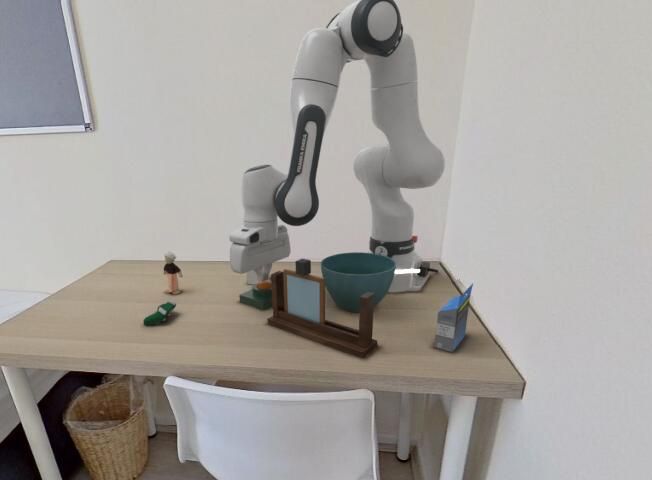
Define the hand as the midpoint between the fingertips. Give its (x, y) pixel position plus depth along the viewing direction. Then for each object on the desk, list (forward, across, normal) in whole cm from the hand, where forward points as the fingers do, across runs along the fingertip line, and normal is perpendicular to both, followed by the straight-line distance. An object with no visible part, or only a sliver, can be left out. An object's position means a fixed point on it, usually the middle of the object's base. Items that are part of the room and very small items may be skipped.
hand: (263, 280), depth 107 cm
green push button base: (+6, 0, 0) cm, 6 cm away
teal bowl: (+6, -10, +23) cm, 26 cm away
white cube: (+6, -10, -12) cm, 17 cm away
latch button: (+2, 0, 0) cm, 2 cm away
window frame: (+6, +8, +24) cm, 26 cm away
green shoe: (+6, +25, -13) cm, 29 cm away
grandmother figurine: (+6, +12, -26) cm, 29 cm away
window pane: (+4, +8, +20) cm, 22 cm away
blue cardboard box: (+6, -6, +48) cm, 49 cm away
